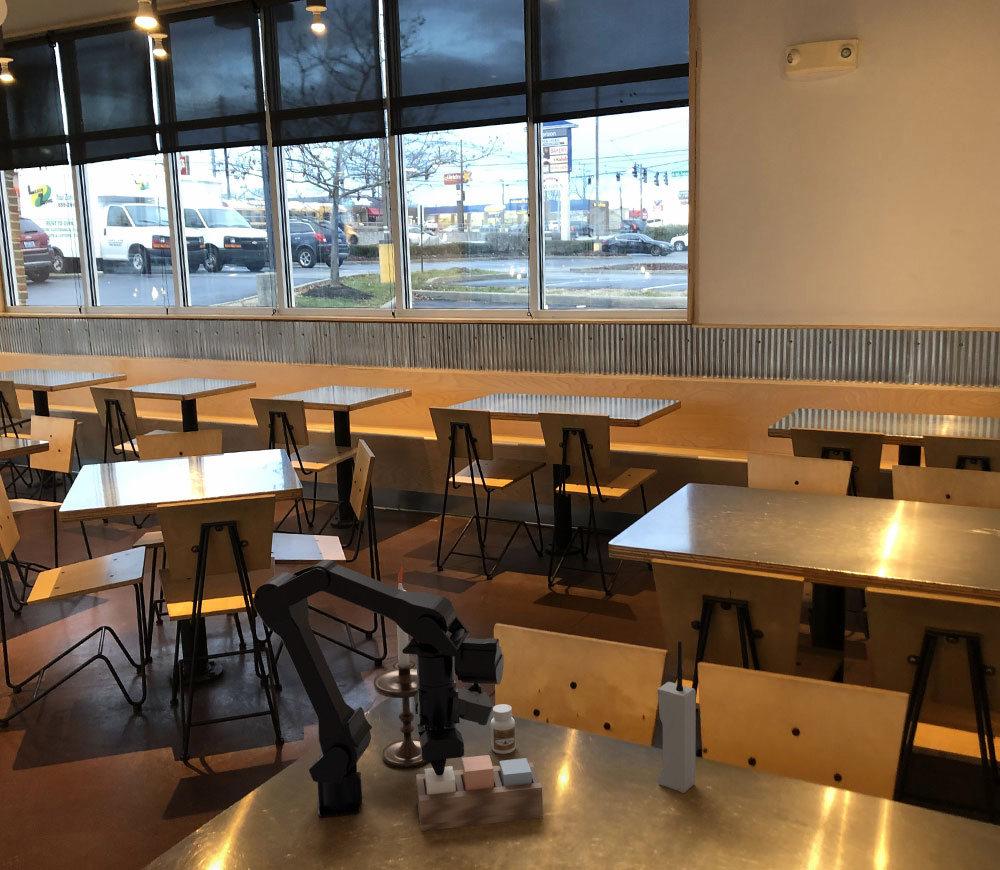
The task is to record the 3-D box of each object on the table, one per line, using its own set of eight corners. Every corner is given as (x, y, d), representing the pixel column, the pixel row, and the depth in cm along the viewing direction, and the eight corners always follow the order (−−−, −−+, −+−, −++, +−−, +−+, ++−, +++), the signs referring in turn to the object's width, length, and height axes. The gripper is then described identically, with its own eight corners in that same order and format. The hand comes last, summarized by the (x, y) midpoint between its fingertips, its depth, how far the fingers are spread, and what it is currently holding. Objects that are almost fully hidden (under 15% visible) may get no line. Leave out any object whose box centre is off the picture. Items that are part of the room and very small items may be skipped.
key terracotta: (466, 795, 146) (465, 771, 145) (462, 781, 150) (461, 757, 149) (494, 792, 146) (493, 768, 146) (490, 778, 151) (489, 754, 150)
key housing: (421, 831, 143) (419, 800, 143) (417, 803, 151) (416, 774, 150) (542, 817, 146) (542, 787, 145) (533, 790, 154) (532, 762, 153)
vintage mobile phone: (668, 775, 158) (668, 633, 154) (695, 784, 154) (696, 639, 151) (657, 784, 155) (657, 640, 151) (684, 794, 152) (684, 647, 148)
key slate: (504, 798, 147) (503, 774, 146) (500, 784, 151) (499, 760, 150) (532, 795, 147) (531, 771, 147) (526, 781, 152) (526, 758, 151)
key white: (427, 807, 145) (426, 783, 144) (425, 792, 149) (424, 768, 149) (456, 804, 146) (455, 780, 145) (453, 789, 150) (452, 766, 149)
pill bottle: (494, 756, 166) (493, 715, 164) (488, 745, 170) (487, 704, 169) (518, 752, 167) (517, 711, 166) (511, 741, 171) (510, 701, 170)
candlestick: (449, 759, 165) (442, 567, 159) (393, 777, 159) (383, 579, 154) (421, 735, 174) (413, 553, 169) (367, 751, 169) (357, 564, 163)
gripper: (496, 700, 136) (499, 799, 139) (479, 652, 155) (482, 740, 157) (420, 707, 135) (424, 808, 137) (411, 658, 153) (415, 747, 155)
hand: (439, 773), depth 147 cm, fingers closed
